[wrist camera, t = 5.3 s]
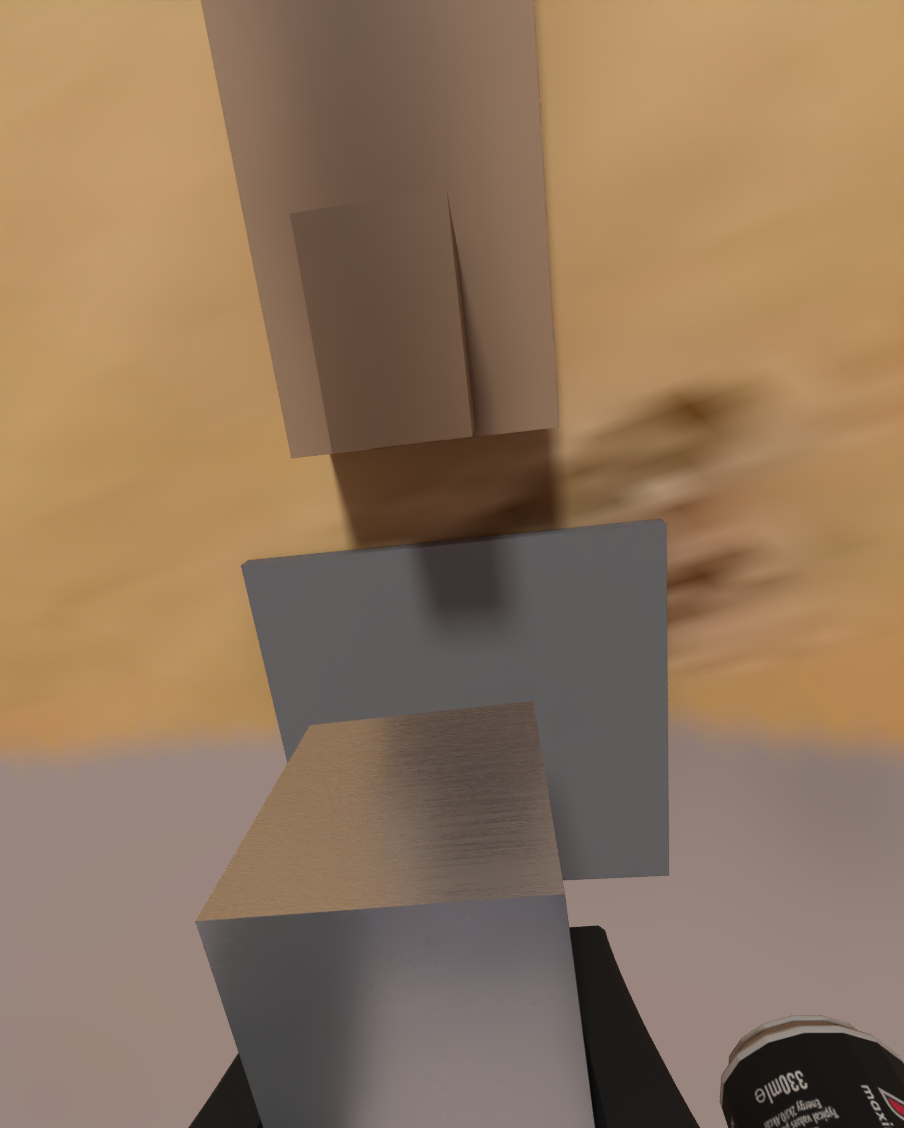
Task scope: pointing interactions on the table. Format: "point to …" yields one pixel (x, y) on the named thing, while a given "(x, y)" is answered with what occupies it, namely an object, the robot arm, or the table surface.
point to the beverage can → (812, 1078)
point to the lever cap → (404, 932)
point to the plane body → (393, 214)
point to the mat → (496, 661)
